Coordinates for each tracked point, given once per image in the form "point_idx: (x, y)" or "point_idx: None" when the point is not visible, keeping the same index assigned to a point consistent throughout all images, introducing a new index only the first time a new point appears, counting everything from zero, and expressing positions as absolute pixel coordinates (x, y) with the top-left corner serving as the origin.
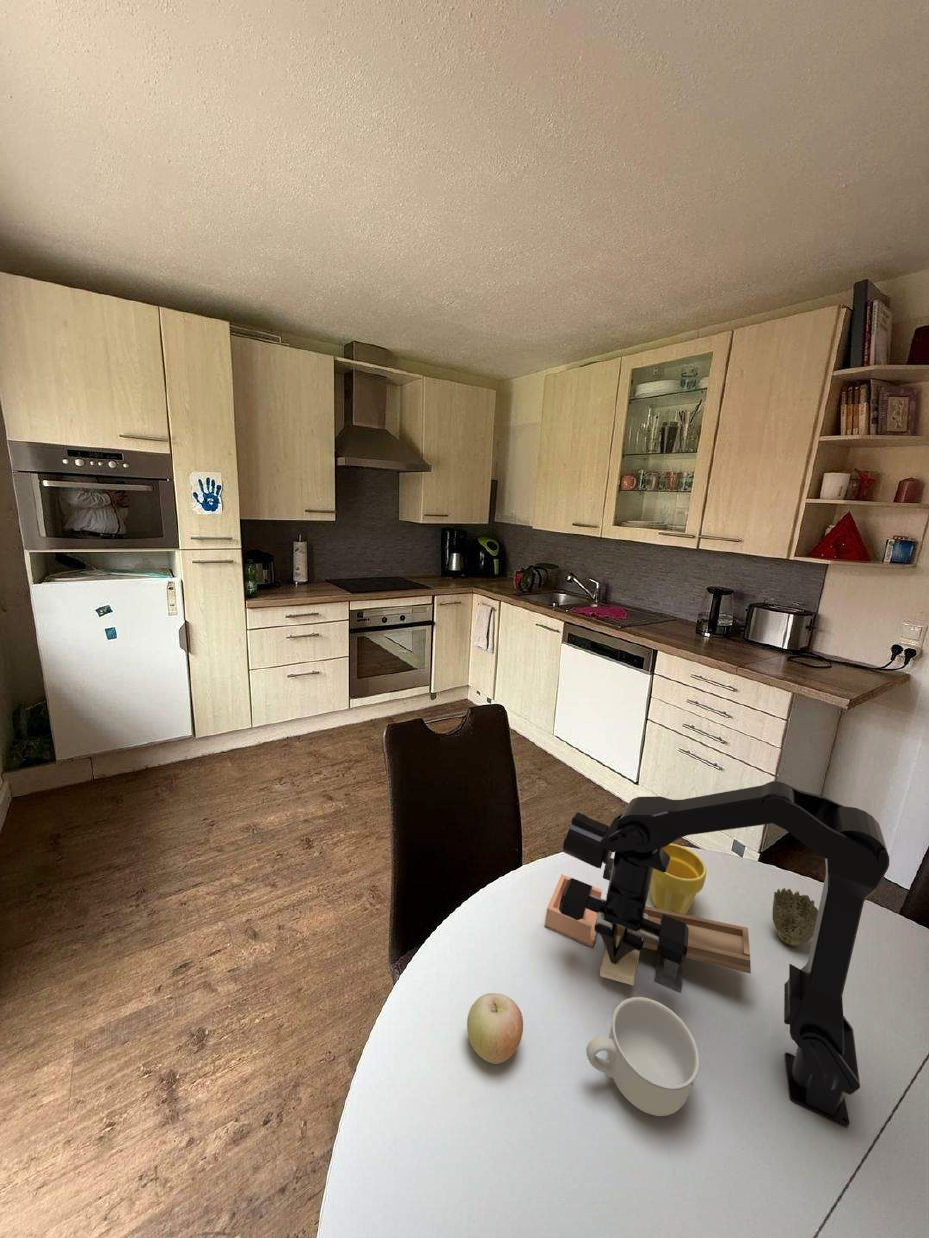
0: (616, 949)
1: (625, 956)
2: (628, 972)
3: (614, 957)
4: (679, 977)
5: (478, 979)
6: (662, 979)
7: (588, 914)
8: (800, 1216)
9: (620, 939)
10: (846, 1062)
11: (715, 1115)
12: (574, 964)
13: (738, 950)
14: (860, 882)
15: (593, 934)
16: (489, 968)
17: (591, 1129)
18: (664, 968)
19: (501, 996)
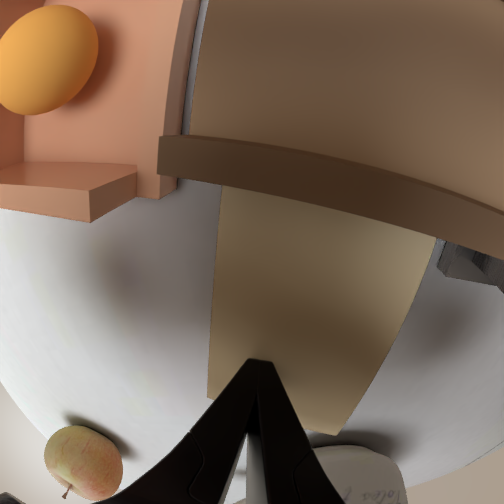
0: (253, 430)
1: (322, 346)
2: (322, 414)
3: (247, 439)
4: None
5: (21, 359)
6: (466, 277)
7: (137, 15)
8: (455, 468)
9: (257, 499)
10: None
11: (425, 453)
12: (133, 292)
13: None
14: None
15: (152, 157)
16: (16, 339)
17: (245, 488)
18: (492, 279)
19: (61, 476)
